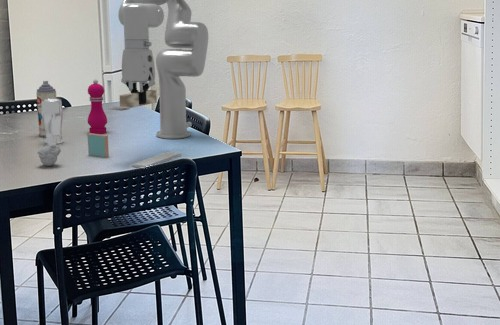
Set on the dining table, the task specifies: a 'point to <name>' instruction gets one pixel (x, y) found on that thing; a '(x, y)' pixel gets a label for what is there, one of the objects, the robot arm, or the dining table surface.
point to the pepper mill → (96, 109)
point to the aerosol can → (42, 93)
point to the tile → (98, 145)
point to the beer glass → (52, 120)
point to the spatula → (134, 100)
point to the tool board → (156, 159)
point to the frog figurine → (49, 154)
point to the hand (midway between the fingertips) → (138, 103)
